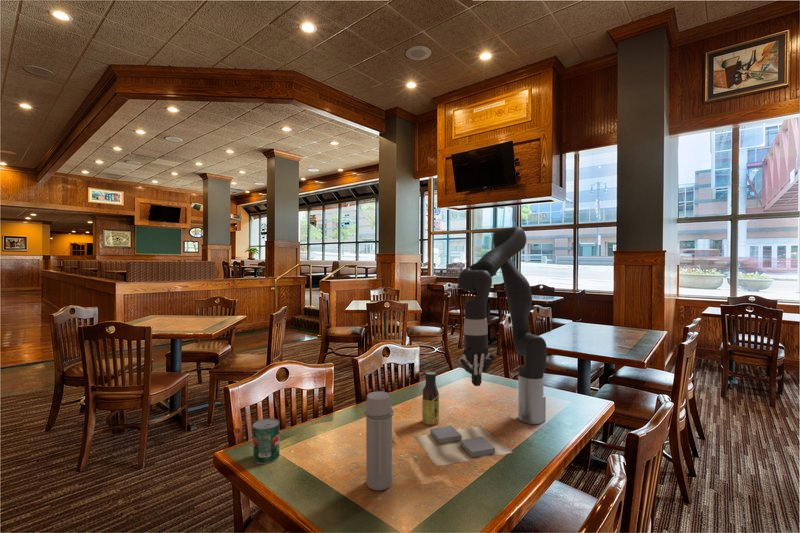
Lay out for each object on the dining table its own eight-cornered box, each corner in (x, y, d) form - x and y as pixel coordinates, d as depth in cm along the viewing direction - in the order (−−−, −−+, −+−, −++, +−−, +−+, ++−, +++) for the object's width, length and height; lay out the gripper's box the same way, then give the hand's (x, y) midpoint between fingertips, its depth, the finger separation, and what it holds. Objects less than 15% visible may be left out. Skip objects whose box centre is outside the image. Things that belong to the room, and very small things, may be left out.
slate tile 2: (481, 436, 127) (460, 440, 125) (494, 448, 120) (472, 452, 117) (481, 442, 127) (460, 445, 125) (494, 453, 120) (472, 458, 117)
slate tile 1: (451, 425, 136) (430, 428, 134) (461, 435, 128) (439, 438, 126) (451, 430, 136) (430, 433, 134) (461, 440, 128) (439, 444, 126)
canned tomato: (250, 456, 122) (249, 422, 121) (274, 448, 126) (274, 415, 126) (257, 467, 115) (257, 431, 115) (283, 458, 120) (283, 424, 120)
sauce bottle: (438, 430, 139) (438, 376, 139) (421, 429, 141) (421, 375, 140) (439, 422, 146) (439, 371, 146) (423, 421, 147) (423, 370, 147)
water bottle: (365, 477, 110) (364, 391, 109) (392, 476, 110) (392, 390, 110) (365, 497, 100) (364, 403, 100) (394, 496, 101) (394, 402, 100)
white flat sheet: (480, 430, 140) (480, 426, 140) (512, 457, 121) (512, 452, 121) (413, 440, 132) (413, 436, 132) (436, 471, 113) (436, 466, 113)
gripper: (487, 328, 129) (488, 379, 129) (451, 331, 124) (452, 384, 125) (500, 332, 122) (500, 386, 122) (462, 336, 117) (463, 391, 118)
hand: (476, 385), depth 124 cm, fingers closed
